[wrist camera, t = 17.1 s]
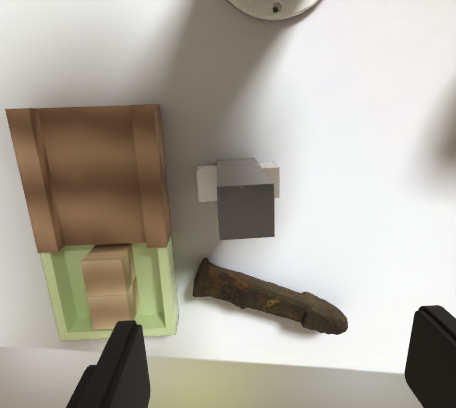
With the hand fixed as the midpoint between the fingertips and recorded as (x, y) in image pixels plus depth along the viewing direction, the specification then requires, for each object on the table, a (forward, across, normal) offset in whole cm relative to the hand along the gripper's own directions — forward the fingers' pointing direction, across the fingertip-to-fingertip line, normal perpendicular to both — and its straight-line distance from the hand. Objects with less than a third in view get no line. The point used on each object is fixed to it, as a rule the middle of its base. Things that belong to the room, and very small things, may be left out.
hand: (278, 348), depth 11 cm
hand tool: (+25, -4, +13) cm, 28 cm away
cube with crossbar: (+24, 0, -1) cm, 24 cm away
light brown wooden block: (+24, +14, +12) cm, 30 cm away
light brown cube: (+24, +14, +8) cm, 29 cm away
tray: (+24, +14, +11) cm, 30 cm away
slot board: (+24, +14, -2) cm, 28 cm away
